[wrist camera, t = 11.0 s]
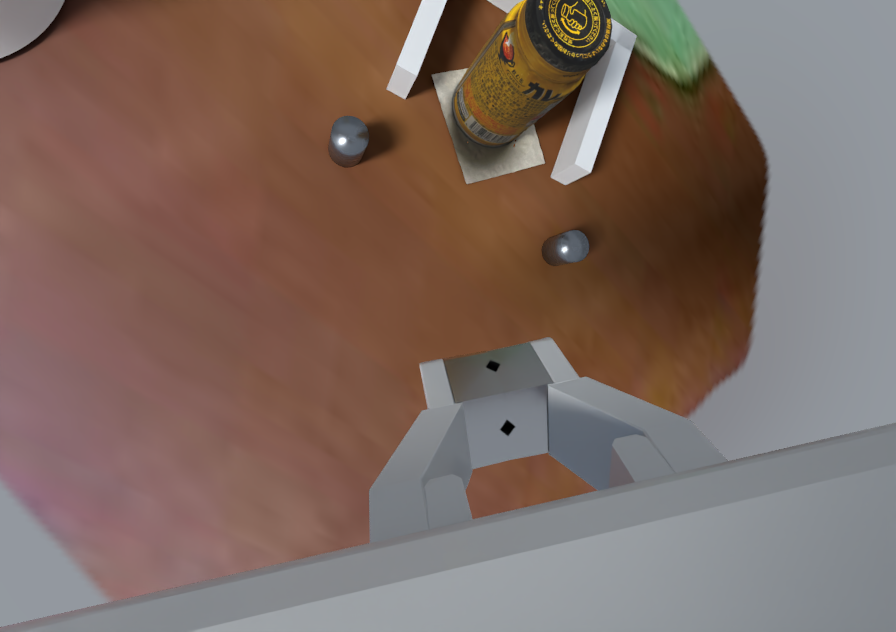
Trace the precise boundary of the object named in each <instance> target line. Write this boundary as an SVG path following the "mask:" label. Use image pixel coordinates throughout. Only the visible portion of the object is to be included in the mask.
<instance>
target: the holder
mask: <svg viewBox="0 0 896 632" xmlns="http://www.w3.org/2000/svg"><path fill="white" fill-rule="evenodd" d="M446 1H447V0H422V2H421V5H420V7H419V9H418V12H417V14H416V17H415V19H414V22H413V24H412V27H411V29H410V32H409V34H408V37H407V39H406V42H405V44H404V47H403V49H402V52H401V54H400V57H399V59H398V62H397V64H396V67H395V69H394V72H393V74H392V77H391V79H390V82H389V84H388V87H387V90H389V91H390V92H392V93H394V94H396V95H398V96H400V97H402V98H404V99H406V97H407V95H408V93H409V91H410V89H411V87H412V85H413V83H414V81H415V79H416V77H417V75H418V73H419V70H420V67H421V65H422V62H423V60H424V57H425V55H426V52H427V50H428V47H429V45H430V42H431V40H432V37H433V34H434V32H435V29H436V27H437V24H438V22H439V19H440V17H441V14H442V12H443V9H444V7H445V4H446ZM487 1H489V2H491V3H492V4H494V5H495V6H497V7H498V8H500V9H502V10H503V11H505V12H506V13H509V11H510V10H511V9H512V8H513V7H514V6H515V5H516V4H517V3H519V2H521V1H523V0H487ZM611 22H612V32H611V39H610V46H609V48H608V50H607V51H606V53H605V54H604V56H603V57H602V58H601V59H600V61H598V63H597V64H596V65H595V66H593V67H591V69H590V70H589V71H588V72H587V73H586V76H585V79H584V82H583V85H582V88H581V91H580V94H579V96H578V99H577V102H576V105H575V108H574V111H573V114H572V117H571V120H570V122H569V125H568V128H567V131H566V134H565V137H564V140H563V143H562V146H561V148H560V151H559V154H558V157H557V160H556V163H555V166H554V169H553V172H552V174H551V178H553V179H555V180H557V181H558V182H560V183H562V184H564V185H567V184H569V183H571V182H573V181H575V180H577V179H579V178H581V177H583V176H585V175H587V174H589V173H591V171H592V168H593V165H594V162H595V159H596V156H597V153H598V150H599V147H600V144H601V141H602V138H603V135H604V132H605V129H606V126H607V123H608V120H609V117H610V114H611V111H612V108H613V105H614V102H615V99H616V96H617V93H618V90H619V87H620V84H621V81H622V79H623V76H624V73H625V70H626V67H627V64H628V61H629V58H630V55H631V52H632V49H633V46H634V43H635V40H636V37H637V35H635V34H634V33H632V32H631V31H629V30H628V29H626V28H625V27H623V26H622V25H621V24H619V23H618V22H616V21H615V20H613V19H612V18H611Z"/></svg>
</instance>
